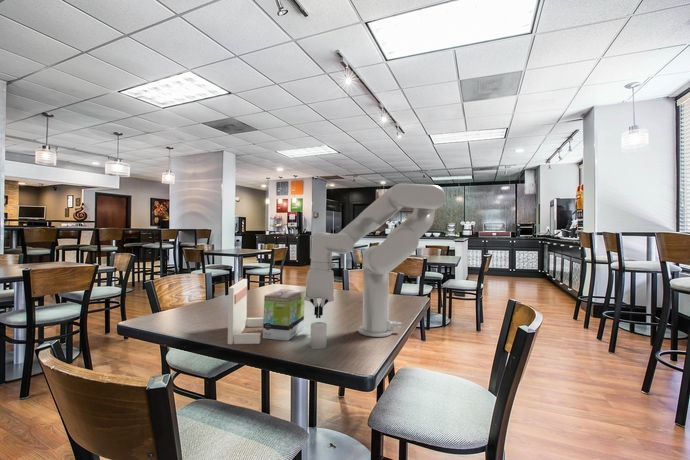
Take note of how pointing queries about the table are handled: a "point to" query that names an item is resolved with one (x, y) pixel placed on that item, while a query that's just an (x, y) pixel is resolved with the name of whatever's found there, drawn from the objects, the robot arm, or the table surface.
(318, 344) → the white cylinder
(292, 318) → the tea box
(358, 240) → the robot arm
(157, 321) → the table surface
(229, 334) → the display stand
